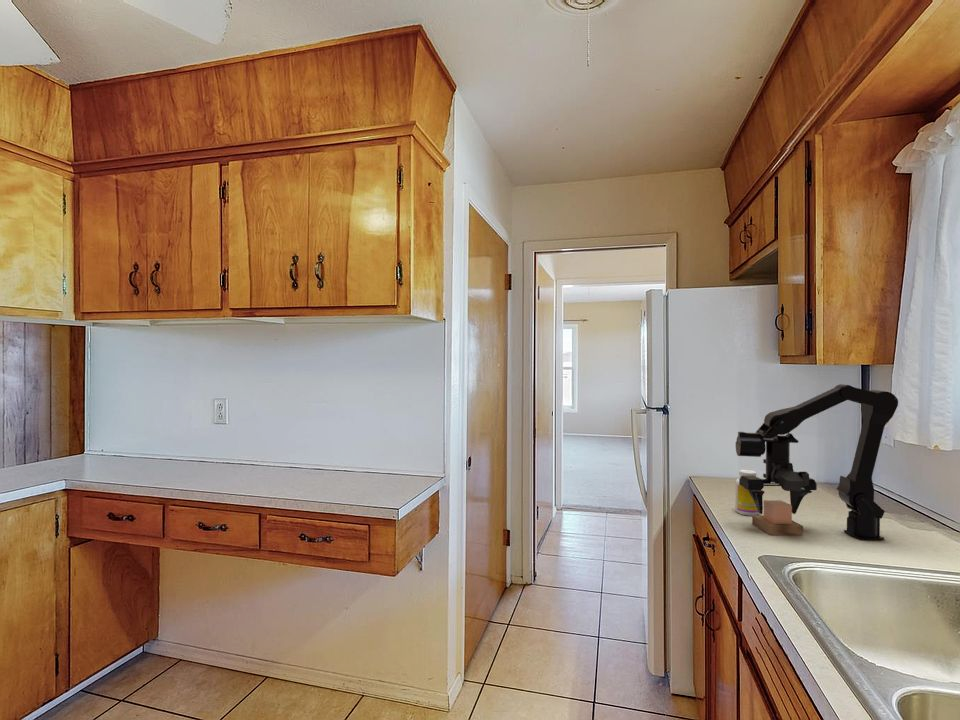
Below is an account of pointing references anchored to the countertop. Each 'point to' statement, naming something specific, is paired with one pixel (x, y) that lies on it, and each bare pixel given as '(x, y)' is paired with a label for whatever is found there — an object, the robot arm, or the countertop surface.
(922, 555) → the countertop surface
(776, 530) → the brown block
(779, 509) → the cube
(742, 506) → the supplement bottle
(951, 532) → the countertop surface
